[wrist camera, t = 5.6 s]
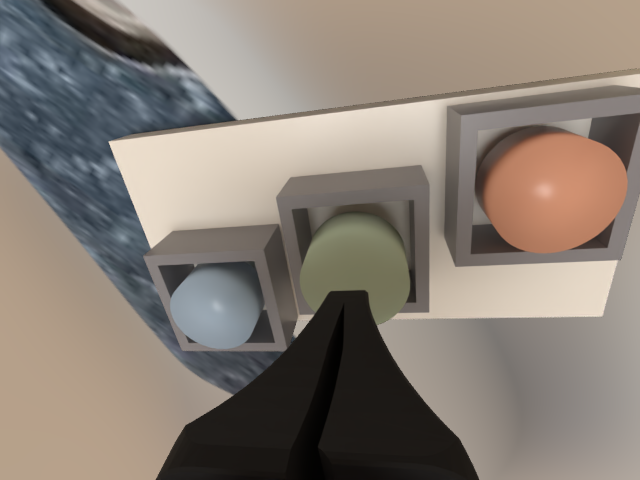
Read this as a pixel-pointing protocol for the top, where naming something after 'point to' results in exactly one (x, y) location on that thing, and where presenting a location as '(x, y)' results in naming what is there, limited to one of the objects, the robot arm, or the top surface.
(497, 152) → the button terracotta
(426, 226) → the panel
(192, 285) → the button blue
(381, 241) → the button green
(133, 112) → the top surface
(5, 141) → the top surface
